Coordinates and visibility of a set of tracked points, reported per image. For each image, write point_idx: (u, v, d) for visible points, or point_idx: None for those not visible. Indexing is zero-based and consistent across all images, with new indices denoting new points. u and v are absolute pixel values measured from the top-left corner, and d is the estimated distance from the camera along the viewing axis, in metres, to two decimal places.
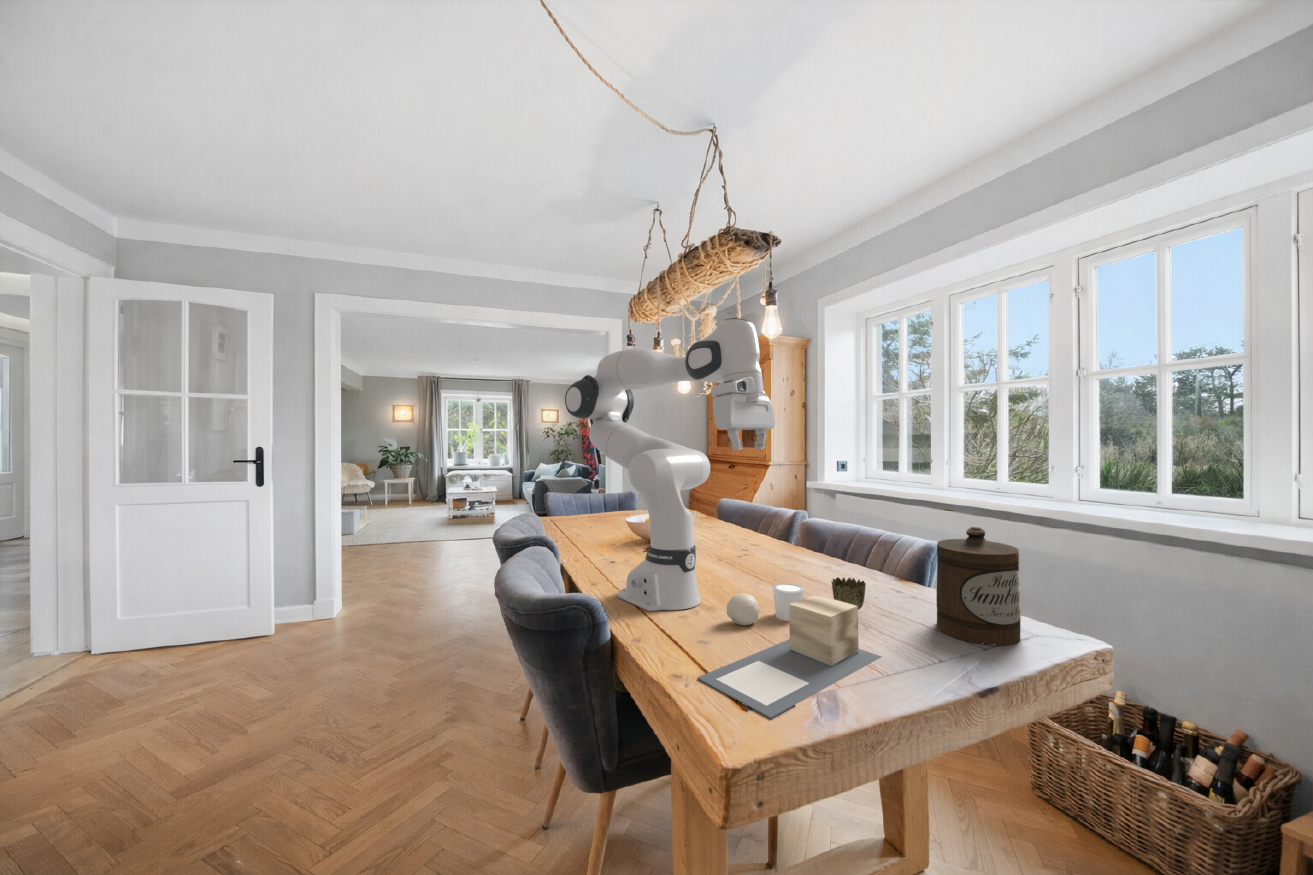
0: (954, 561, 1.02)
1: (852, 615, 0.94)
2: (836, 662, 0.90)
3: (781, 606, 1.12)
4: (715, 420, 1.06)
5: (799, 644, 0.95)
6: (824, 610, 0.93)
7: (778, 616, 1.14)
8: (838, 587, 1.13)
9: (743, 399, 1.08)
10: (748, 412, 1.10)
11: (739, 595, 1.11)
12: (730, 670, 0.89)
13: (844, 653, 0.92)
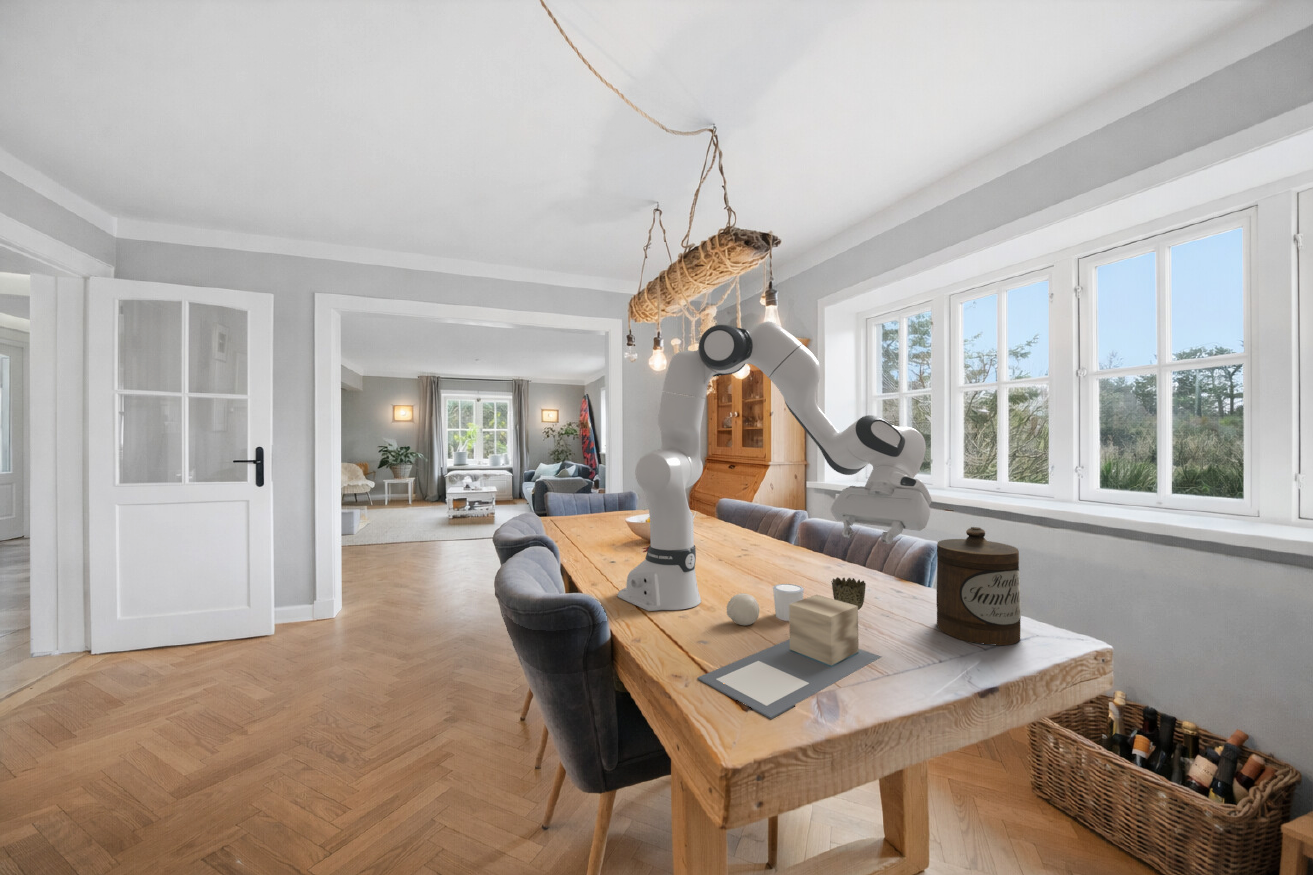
0: (954, 561, 1.02)
1: (852, 615, 0.94)
2: (836, 662, 0.90)
3: (781, 606, 1.12)
4: (921, 514, 0.99)
5: (799, 644, 0.95)
6: (824, 610, 0.93)
7: (778, 616, 1.14)
8: (838, 587, 1.13)
9: None
10: None
11: (739, 595, 1.11)
12: (730, 670, 0.89)
13: (844, 653, 0.92)
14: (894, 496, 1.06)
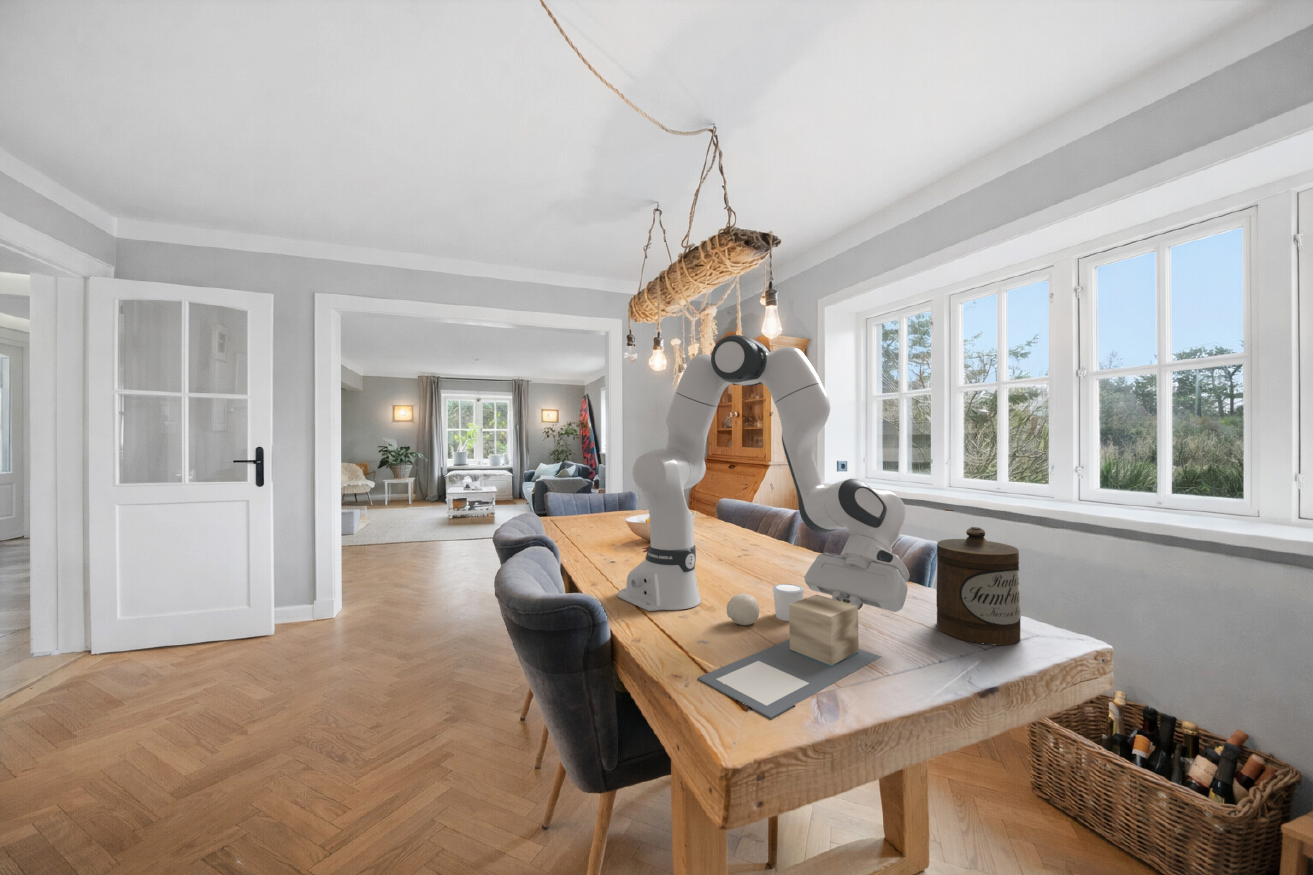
0: (954, 561, 1.02)
1: (852, 615, 0.94)
2: (836, 662, 0.90)
3: (781, 606, 1.12)
4: (897, 595, 0.93)
5: (799, 644, 0.95)
6: (824, 610, 0.92)
7: (778, 616, 1.14)
8: None
9: None
10: None
11: (739, 595, 1.11)
12: (730, 670, 0.89)
13: (844, 653, 0.92)
14: (870, 571, 1.00)
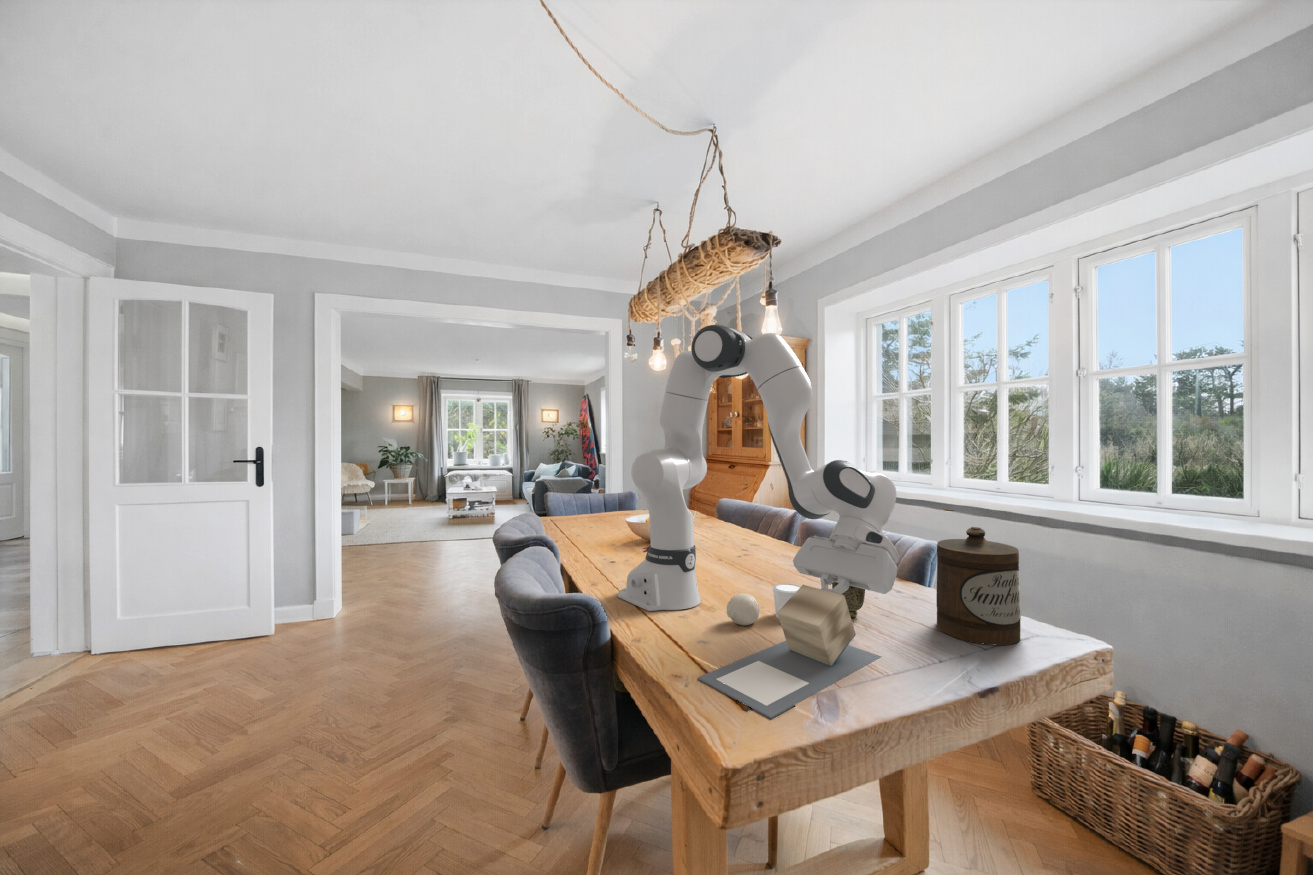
0: (954, 561, 1.02)
1: (841, 607, 0.91)
2: (835, 659, 0.90)
3: (781, 606, 1.12)
4: (886, 576, 0.91)
5: (796, 646, 0.94)
6: (812, 615, 0.90)
7: None
8: None
9: None
10: None
11: (739, 595, 1.11)
12: (730, 670, 0.89)
13: (841, 645, 0.91)
14: (859, 553, 0.97)
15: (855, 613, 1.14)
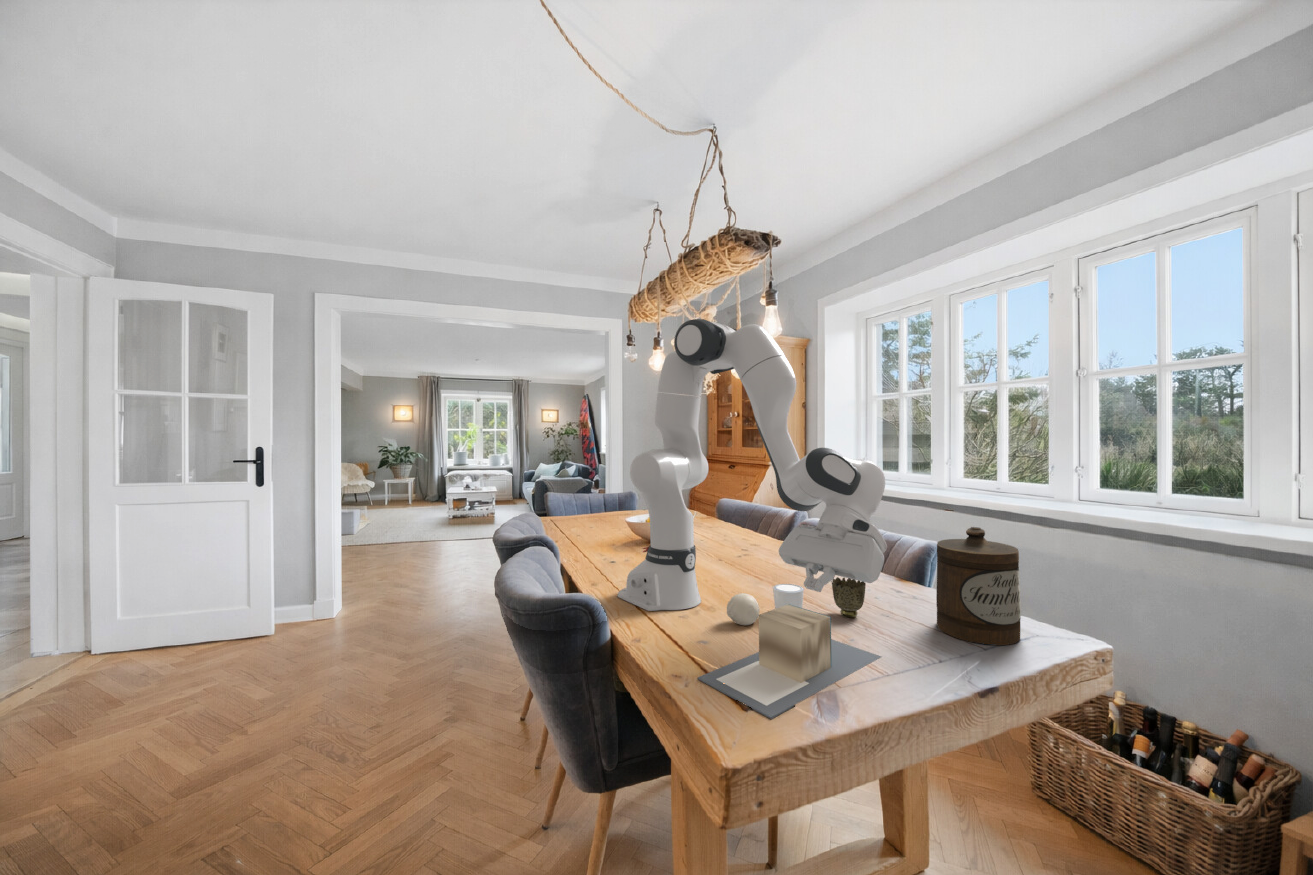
0: (954, 561, 1.02)
1: (805, 638, 0.85)
2: (830, 658, 0.89)
3: (781, 606, 1.12)
4: (872, 565, 0.88)
5: None
6: (788, 665, 0.86)
7: None
8: (838, 587, 1.13)
9: None
10: None
11: (739, 595, 1.11)
12: (730, 670, 0.89)
13: (827, 645, 0.89)
14: (846, 541, 0.94)
15: (855, 613, 1.14)
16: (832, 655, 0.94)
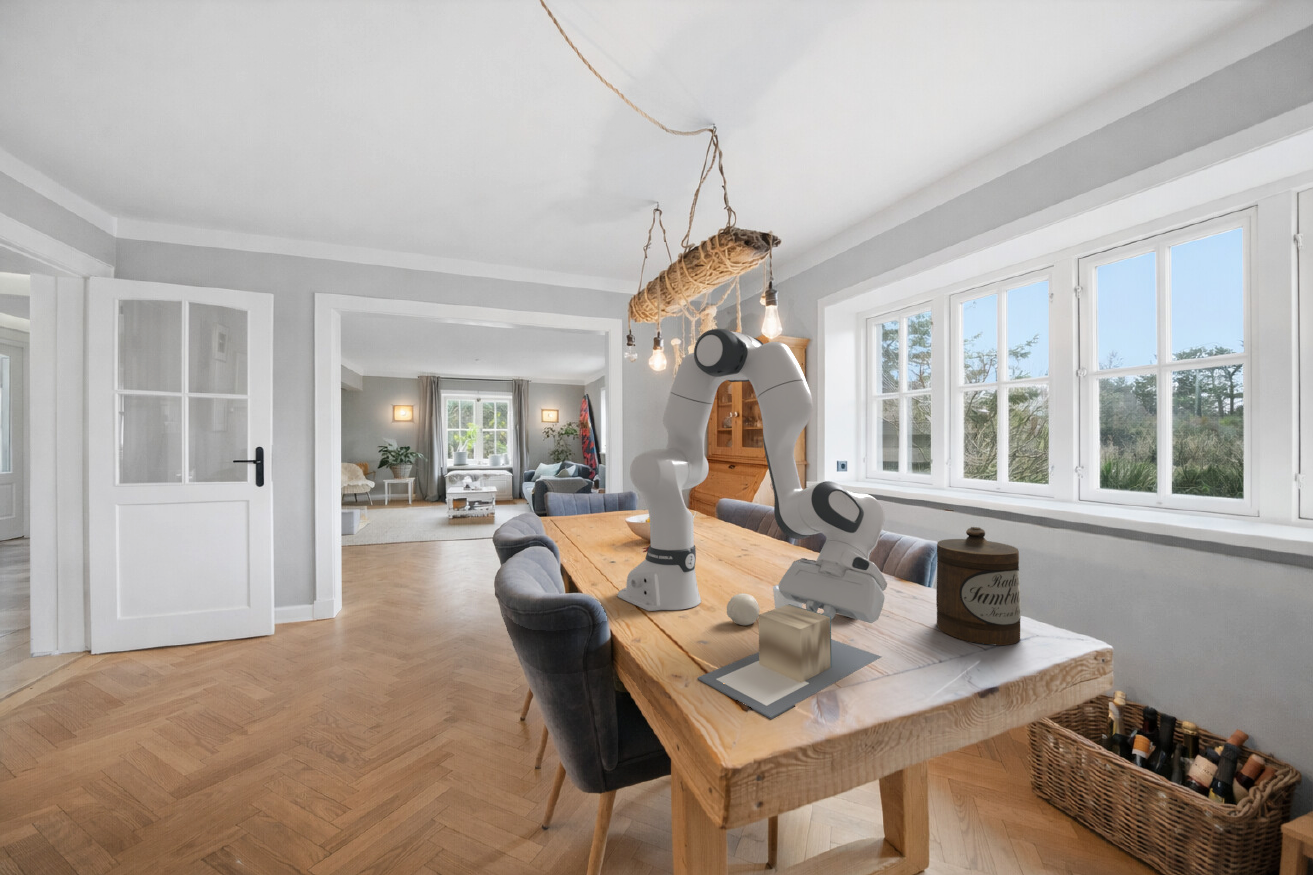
0: (954, 561, 1.02)
1: (805, 638, 0.85)
2: (830, 658, 0.89)
3: (781, 606, 1.12)
4: (872, 605, 0.88)
5: None
6: (788, 665, 0.86)
7: None
8: None
9: None
10: None
11: (739, 595, 1.11)
12: (730, 670, 0.89)
13: (827, 645, 0.89)
14: (846, 579, 0.94)
15: None
16: (832, 655, 0.94)
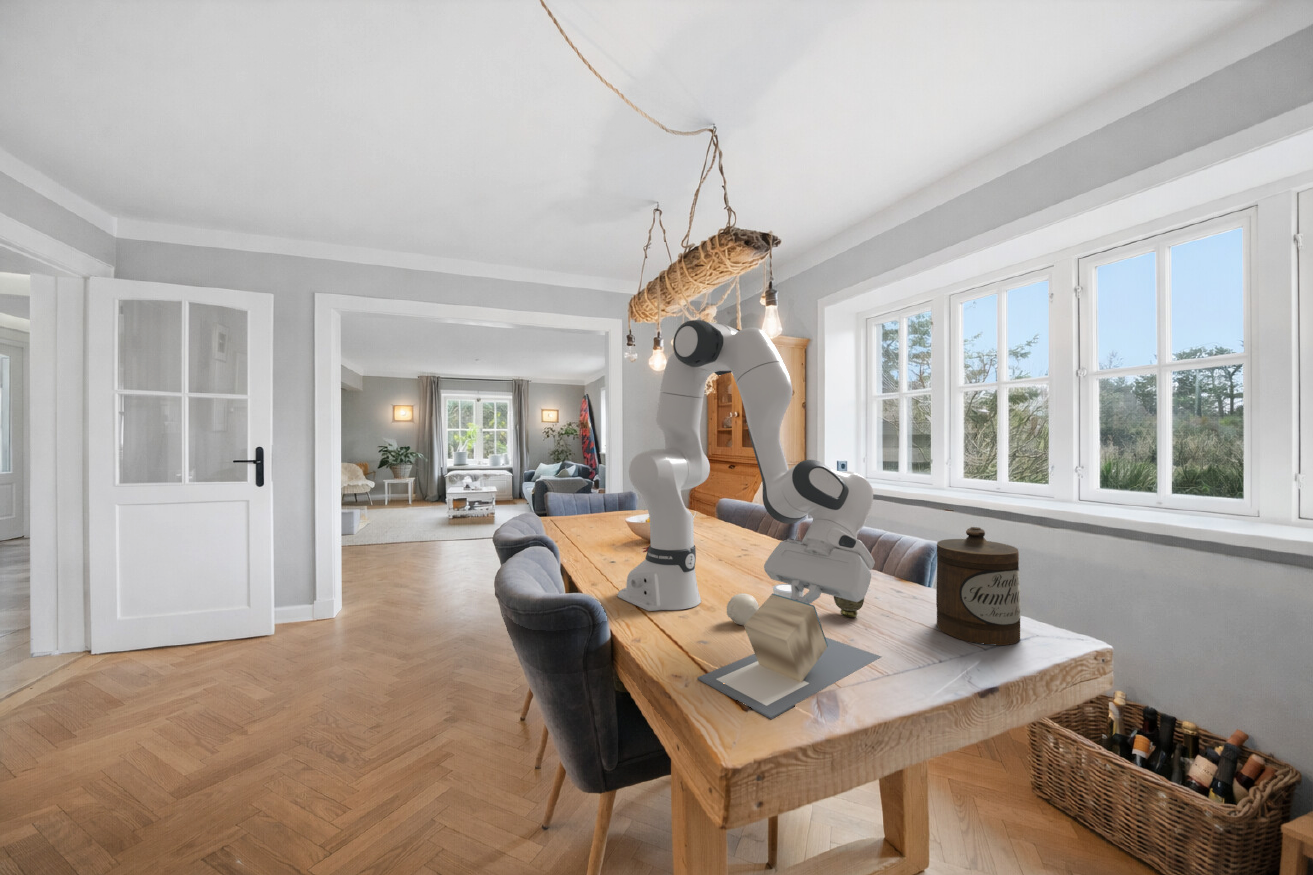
0: (954, 561, 1.02)
1: (793, 644, 0.83)
2: (824, 640, 0.88)
3: None
4: (858, 583, 0.85)
5: None
6: (785, 668, 0.85)
7: None
8: None
9: None
10: None
11: (739, 595, 1.11)
12: (730, 670, 0.89)
13: (818, 631, 0.87)
14: (832, 558, 0.91)
15: (855, 613, 1.14)
16: (832, 655, 0.94)
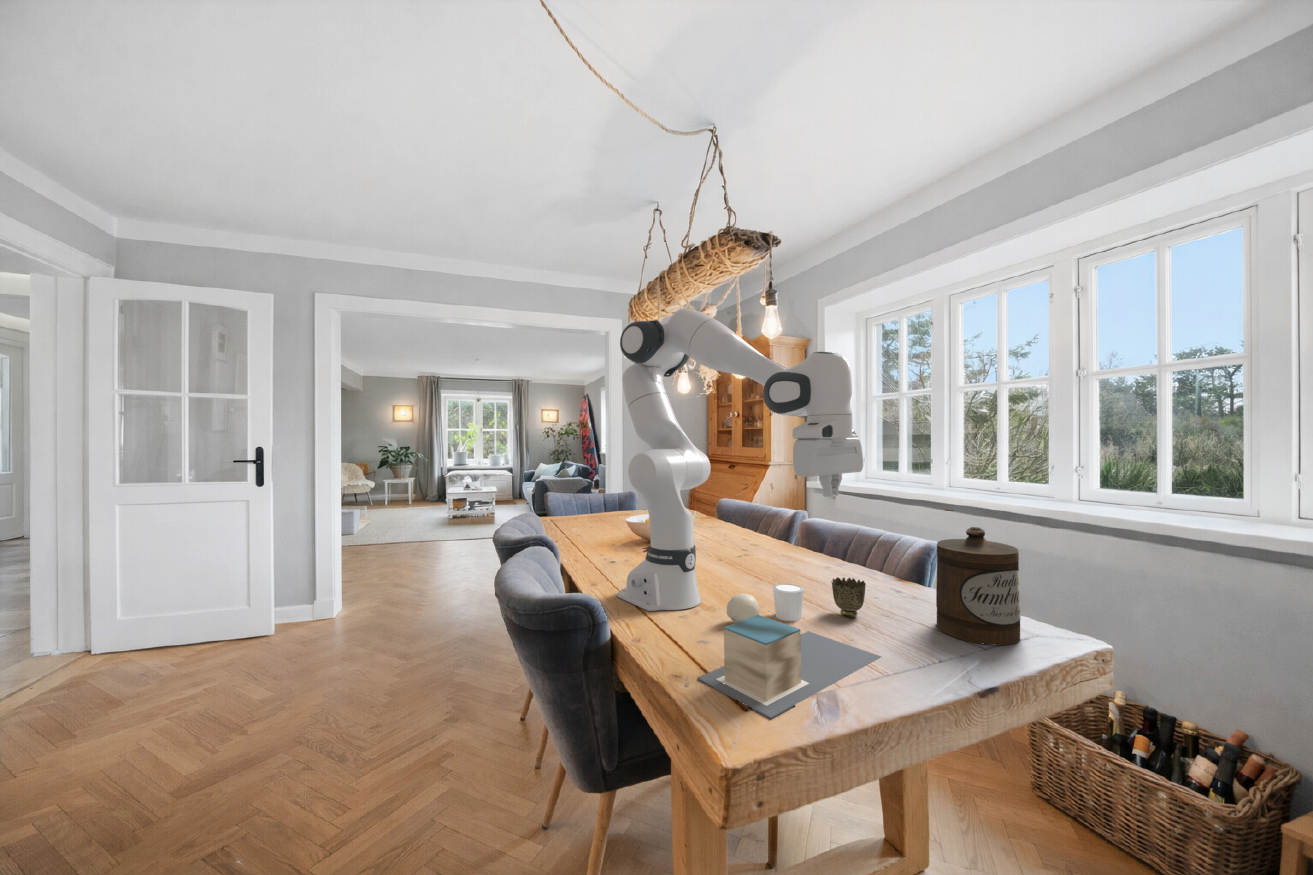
0: (954, 561, 1.02)
1: (774, 688, 0.79)
2: (794, 633, 0.83)
3: (781, 606, 1.12)
4: (794, 466, 0.99)
5: None
6: None
7: (778, 616, 1.14)
8: (838, 587, 1.13)
9: (828, 444, 0.99)
10: (832, 458, 1.01)
11: (739, 595, 1.11)
12: None
13: (784, 643, 0.81)
14: None
15: (855, 613, 1.14)
16: (832, 655, 0.94)
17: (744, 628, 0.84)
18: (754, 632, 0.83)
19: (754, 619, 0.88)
